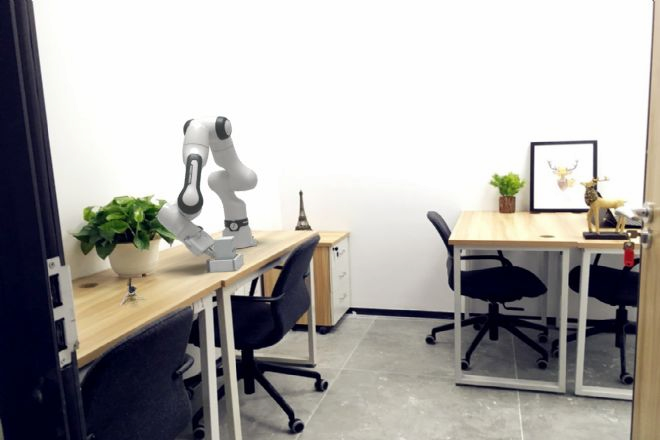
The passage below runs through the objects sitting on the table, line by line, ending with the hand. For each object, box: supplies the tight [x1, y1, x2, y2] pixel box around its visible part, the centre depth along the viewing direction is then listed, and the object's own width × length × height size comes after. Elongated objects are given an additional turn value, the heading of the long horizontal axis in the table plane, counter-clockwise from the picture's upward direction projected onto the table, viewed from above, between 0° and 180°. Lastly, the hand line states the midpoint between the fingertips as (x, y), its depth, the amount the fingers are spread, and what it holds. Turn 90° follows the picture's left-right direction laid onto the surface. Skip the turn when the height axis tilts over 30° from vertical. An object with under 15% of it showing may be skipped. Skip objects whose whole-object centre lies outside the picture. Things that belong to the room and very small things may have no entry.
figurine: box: [118, 277, 149, 307], centre depth 167 cm, size 10×9×20 cm
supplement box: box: [213, 236, 237, 261], centre depth 206 cm, size 7×7×13 cm
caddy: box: [205, 252, 244, 273], centre depth 206 cm, size 13×12×5 cm
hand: (215, 256), depth 206 cm, fingers closed, pressing on supplement box
